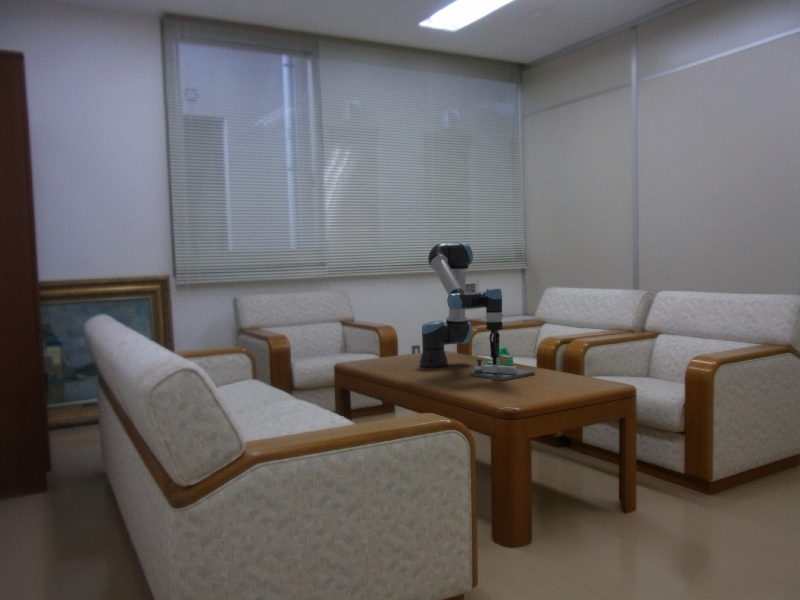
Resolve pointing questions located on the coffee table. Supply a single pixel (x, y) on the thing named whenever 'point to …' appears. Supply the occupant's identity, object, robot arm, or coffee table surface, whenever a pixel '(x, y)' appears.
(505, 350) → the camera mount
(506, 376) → the plate
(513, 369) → the link
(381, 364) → the coffee table surface
